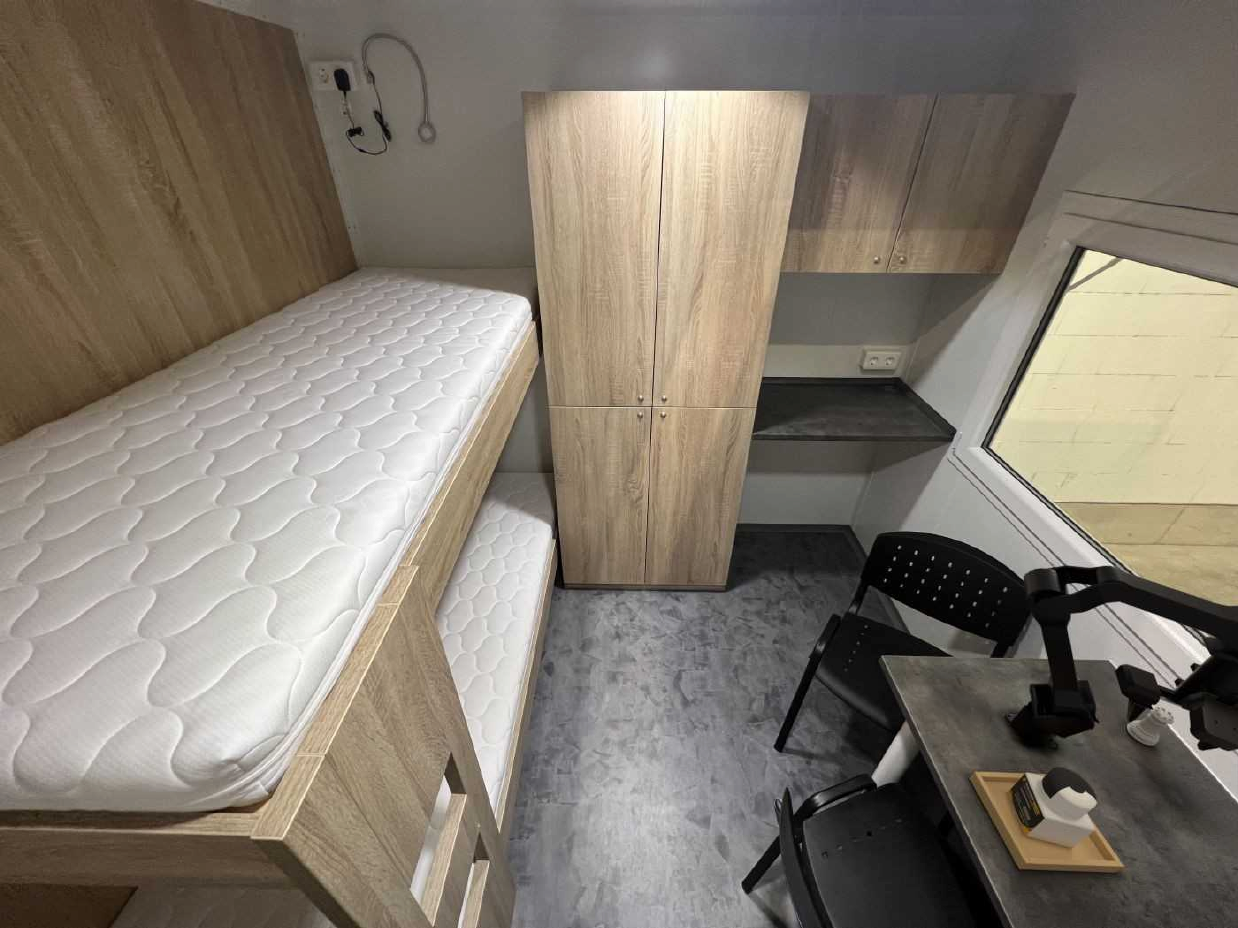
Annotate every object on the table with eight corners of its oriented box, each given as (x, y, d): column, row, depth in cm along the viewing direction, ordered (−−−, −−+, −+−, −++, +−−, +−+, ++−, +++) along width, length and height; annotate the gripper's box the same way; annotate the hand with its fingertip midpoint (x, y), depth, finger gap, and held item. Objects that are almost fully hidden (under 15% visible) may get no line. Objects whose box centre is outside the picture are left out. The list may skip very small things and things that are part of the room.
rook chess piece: (1142, 725, 98) (1167, 702, 94) (1161, 748, 95) (1188, 725, 90) (1119, 723, 99) (1143, 700, 94) (1137, 745, 95) (1162, 722, 91)
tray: (1019, 869, 78) (1026, 862, 76) (969, 777, 89) (974, 771, 88) (1116, 872, 78) (1124, 866, 76) (1053, 780, 89) (1060, 774, 88)
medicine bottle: (1006, 790, 87) (1039, 756, 80) (1052, 802, 85) (1088, 767, 79) (1024, 836, 81) (1060, 802, 75) (1073, 849, 80) (1114, 816, 73)
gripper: (1161, 689, 74) (1104, 744, 82) (1344, 757, 66) (1260, 810, 74) (1141, 638, 82) (1091, 692, 90) (1302, 693, 74) (1230, 747, 82)
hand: (1163, 733), depth 84 cm, fingers open, 9 cm apart
